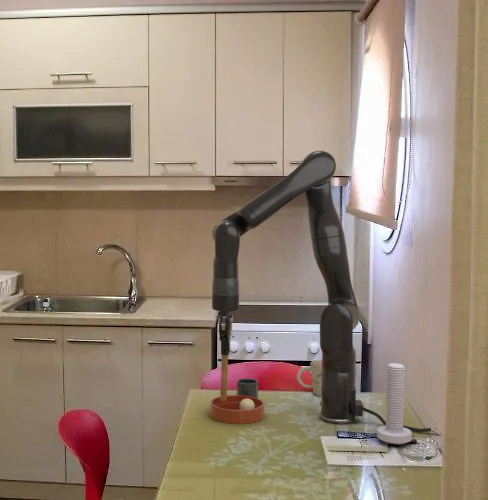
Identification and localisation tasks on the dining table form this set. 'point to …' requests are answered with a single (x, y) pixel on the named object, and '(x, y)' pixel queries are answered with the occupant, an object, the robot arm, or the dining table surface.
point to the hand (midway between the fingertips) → (225, 353)
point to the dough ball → (246, 404)
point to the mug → (313, 376)
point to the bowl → (236, 410)
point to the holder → (247, 387)
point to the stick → (224, 377)
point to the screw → (395, 408)
